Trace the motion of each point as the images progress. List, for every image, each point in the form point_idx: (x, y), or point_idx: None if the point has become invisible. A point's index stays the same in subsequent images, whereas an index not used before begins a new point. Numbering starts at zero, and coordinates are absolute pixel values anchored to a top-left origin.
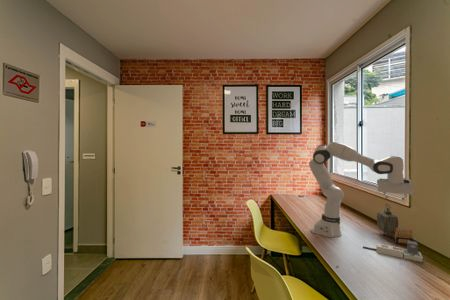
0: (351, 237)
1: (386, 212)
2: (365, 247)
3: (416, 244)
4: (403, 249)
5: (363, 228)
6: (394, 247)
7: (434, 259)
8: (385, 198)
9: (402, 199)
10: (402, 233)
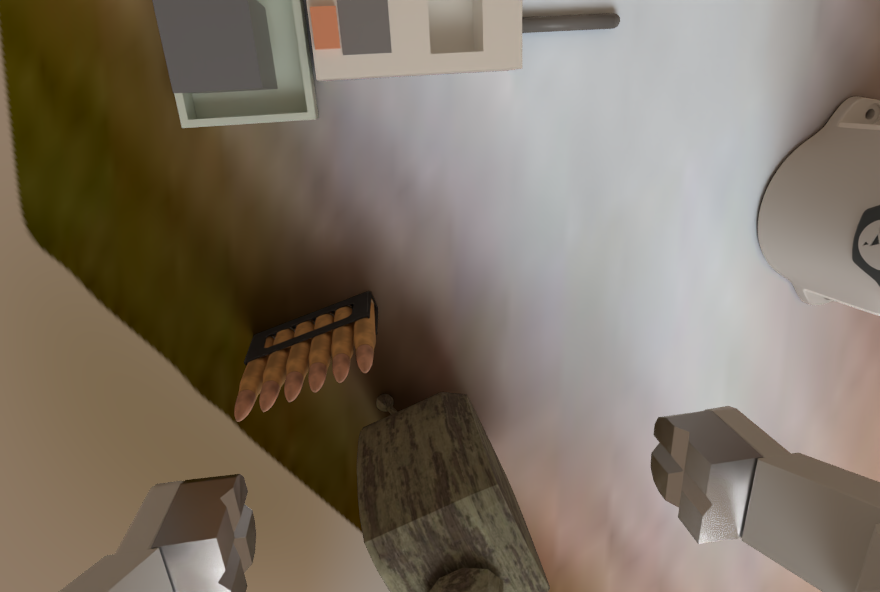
0: (683, 214)
1: (479, 577)
2: (594, 15)
3: (166, 2)
4: (306, 103)
5: (586, 470)
6: (376, 45)
7: (88, 126)
8: (711, 413)
9: (216, 487)
10: (319, 353)
